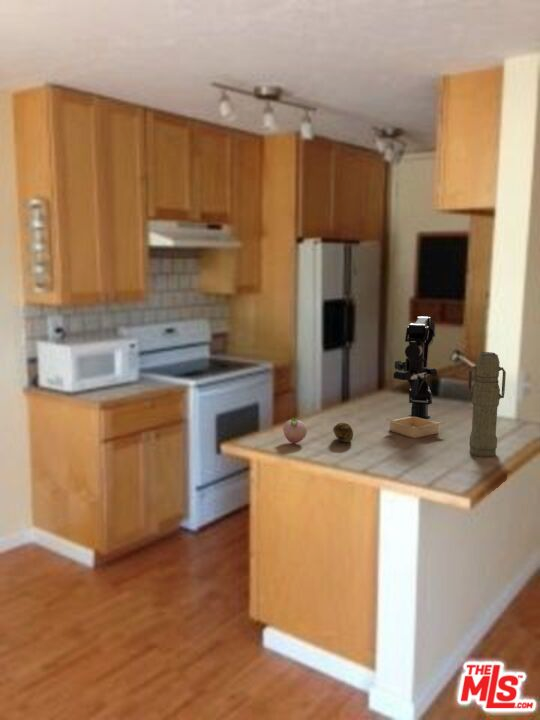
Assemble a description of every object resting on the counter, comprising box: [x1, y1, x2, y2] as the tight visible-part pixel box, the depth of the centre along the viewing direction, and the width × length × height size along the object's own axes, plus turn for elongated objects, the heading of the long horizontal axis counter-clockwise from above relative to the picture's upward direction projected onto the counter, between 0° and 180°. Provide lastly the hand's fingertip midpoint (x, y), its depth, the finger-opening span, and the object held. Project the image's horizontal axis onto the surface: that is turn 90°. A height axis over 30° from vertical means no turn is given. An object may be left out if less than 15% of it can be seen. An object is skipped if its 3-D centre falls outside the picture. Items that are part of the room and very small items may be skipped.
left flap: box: [418, 421, 445, 427], centre depth 252 cm, size 10×1×4 cm
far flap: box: [385, 418, 411, 427], centre depth 254 cm, size 1×10×4 cm
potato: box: [332, 422, 354, 443], centre depth 244 cm, size 8×13×8 cm, turn 158°
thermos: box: [467, 351, 507, 458], centre depth 229 cm, size 9×12×35 cm
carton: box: [389, 416, 440, 439], centre depth 260 cm, size 14×14×4 cm
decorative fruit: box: [282, 416, 308, 445], centre depth 242 cm, size 9×8×10 cm
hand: (414, 395), depth 264 cm, fingers closed
